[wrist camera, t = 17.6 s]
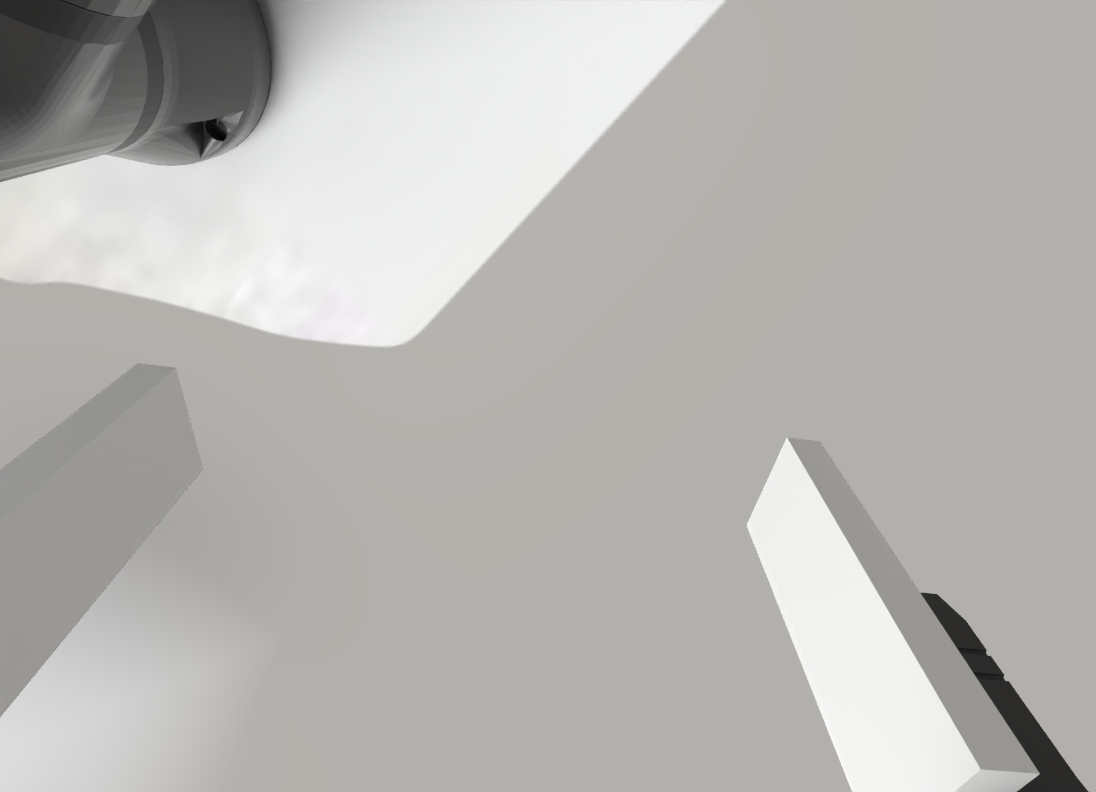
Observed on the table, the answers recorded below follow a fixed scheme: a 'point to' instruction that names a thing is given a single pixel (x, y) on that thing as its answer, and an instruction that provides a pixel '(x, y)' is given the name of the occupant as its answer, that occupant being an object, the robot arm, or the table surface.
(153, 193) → the table surface
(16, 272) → the table surface
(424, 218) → the table surface
